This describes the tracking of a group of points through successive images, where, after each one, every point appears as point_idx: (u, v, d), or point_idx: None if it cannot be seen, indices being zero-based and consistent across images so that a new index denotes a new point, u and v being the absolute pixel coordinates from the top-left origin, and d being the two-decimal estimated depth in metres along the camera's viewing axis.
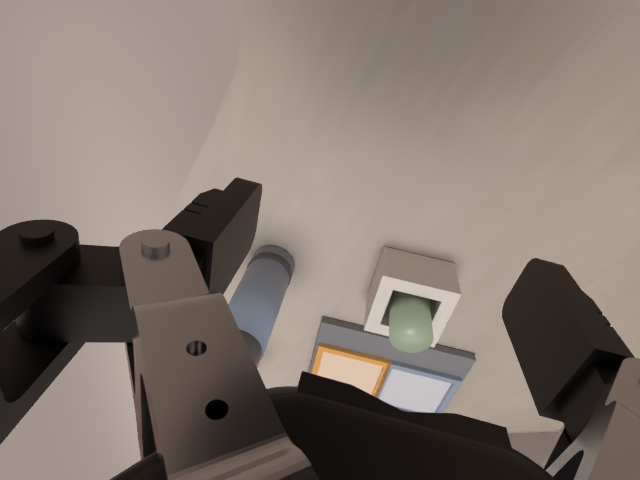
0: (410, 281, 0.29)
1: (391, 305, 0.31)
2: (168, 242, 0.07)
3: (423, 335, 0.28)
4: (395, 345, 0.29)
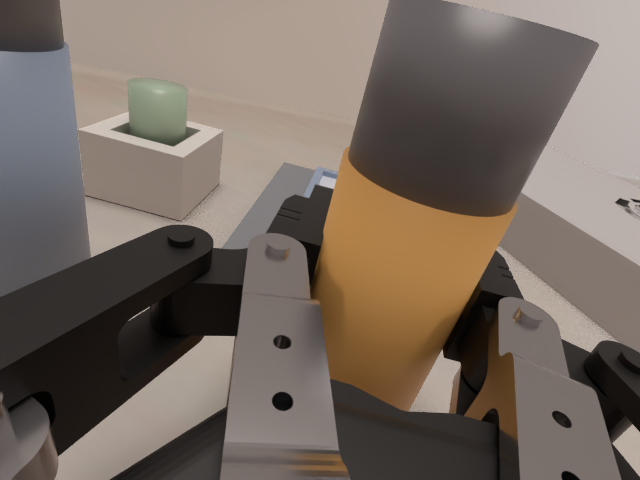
0: (103, 122, 0.23)
1: (139, 136, 0.22)
2: (288, 247, 0.08)
3: (156, 81, 0.23)
4: (170, 93, 0.22)
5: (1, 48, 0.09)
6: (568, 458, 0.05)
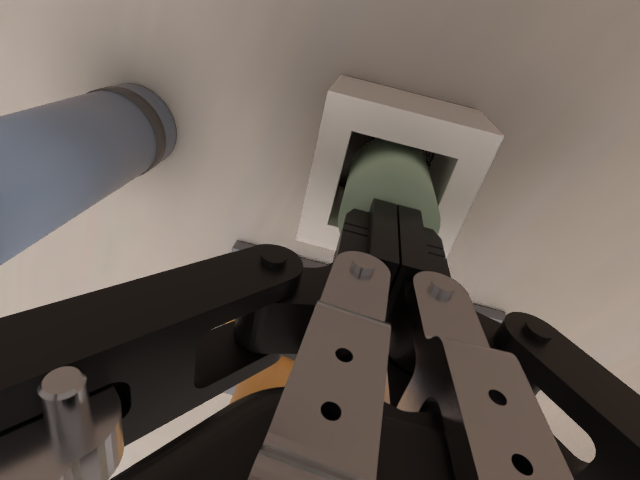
0: (390, 106, 0.13)
1: (349, 173, 0.15)
2: (373, 267, 0.08)
3: None
4: None
5: None
6: (513, 439, 0.05)
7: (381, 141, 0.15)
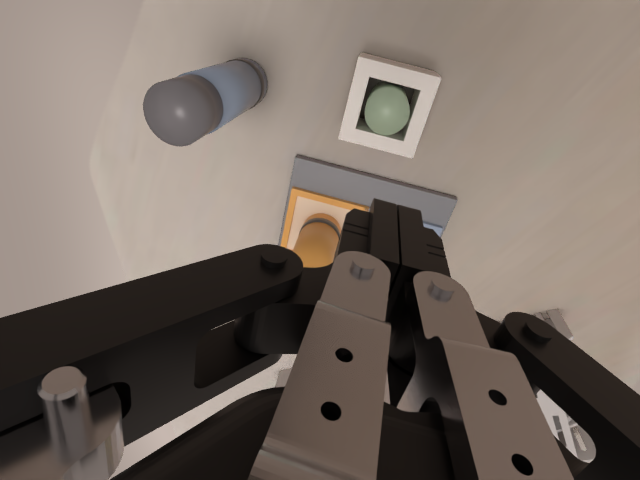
0: (387, 64, 0.27)
1: (368, 96, 0.30)
2: (373, 268, 0.08)
3: (399, 108, 0.28)
4: (371, 125, 0.29)
5: None
6: (512, 439, 0.05)
7: (383, 82, 0.31)
